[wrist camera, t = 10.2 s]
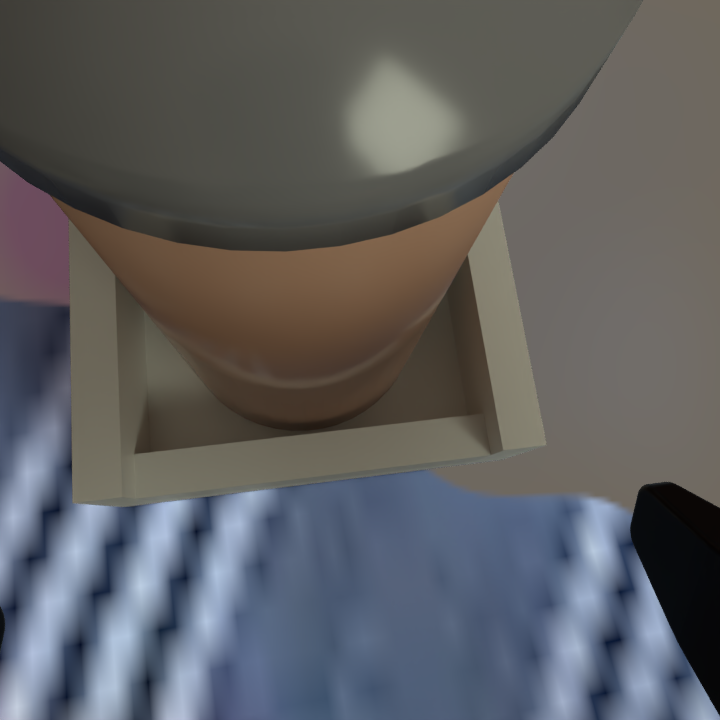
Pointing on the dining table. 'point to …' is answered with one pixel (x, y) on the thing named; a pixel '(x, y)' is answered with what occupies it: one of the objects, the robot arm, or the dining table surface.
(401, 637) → the dining table surface
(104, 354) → the pusher lane
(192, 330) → the grey brown rounded piece
